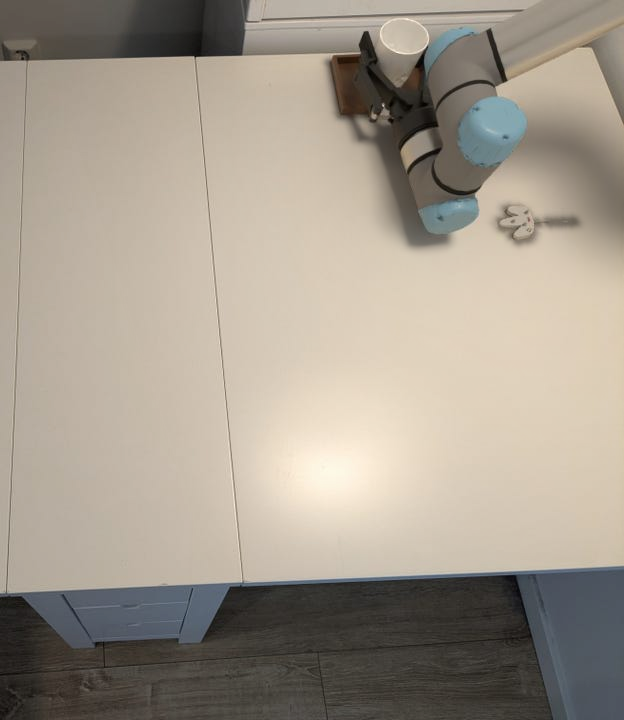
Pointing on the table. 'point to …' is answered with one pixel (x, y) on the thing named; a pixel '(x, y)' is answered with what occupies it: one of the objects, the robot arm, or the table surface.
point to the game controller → (519, 221)
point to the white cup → (400, 48)
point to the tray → (347, 90)
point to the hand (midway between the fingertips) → (387, 35)
